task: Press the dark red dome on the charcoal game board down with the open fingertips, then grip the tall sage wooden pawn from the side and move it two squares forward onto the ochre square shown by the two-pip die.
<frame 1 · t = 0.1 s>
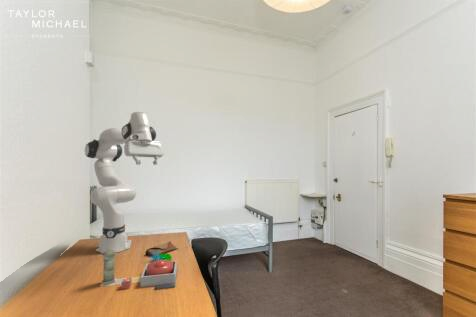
hand: (147, 164, 115), 52 cm above the table, tool tilted 20°, fingers open, 8 cm apart
sunglasses case: (162, 252, 132), on the table
dome: (160, 267, 100), point 5 cm above the table, slide at 0.0 cm
stick construction toy: (159, 262, 118), on the table
pawn: (108, 282, 95), point 1 cm above the table, touching game board
game board: (139, 281, 98), on the table
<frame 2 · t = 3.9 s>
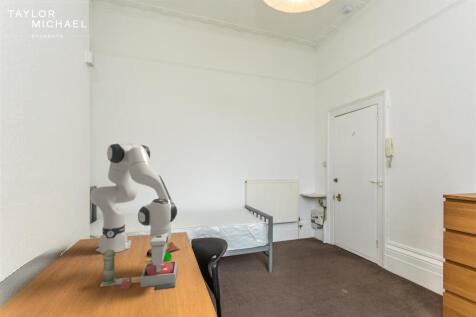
hand: (160, 266, 100), 6 cm above the table, tool pointing down, fingers open, 8 cm apart
sunglasses case: (164, 253, 131), on the table
dome: (160, 268, 100), point 5 cm above the table, slide at 0.8 cm, touching gripper
stick construction toy: (159, 261, 119), on the table
everything else where it was.
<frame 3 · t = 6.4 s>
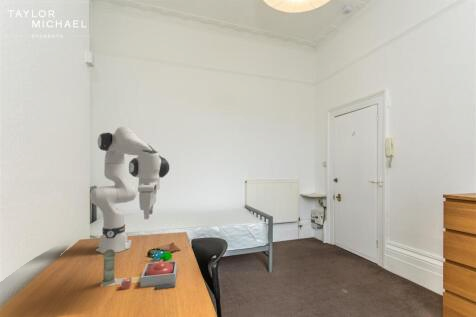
hand: (148, 216, 100), 28 cm above the table, tool pointing down, fingers open, 8 cm apart
dome: (160, 269, 100), point 4 cm above the table, slide at 1.0 cm
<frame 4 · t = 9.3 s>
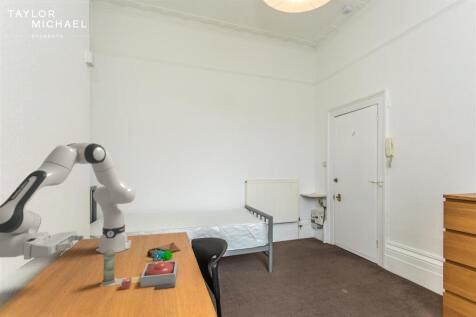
hand: (78, 241, 93), 19 cm above the table, tool horizontal, fingers open, 8 cm apart
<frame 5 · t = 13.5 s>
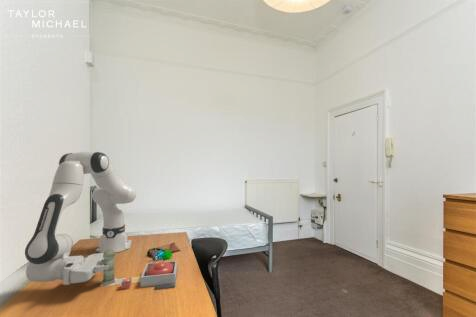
hand: (111, 264, 96), 9 cm above the table, tool horizontal, fingers closed on pawn, 4 cm apart
pawn: (108, 282, 95), point 1 cm above the table, touching game board, gripper
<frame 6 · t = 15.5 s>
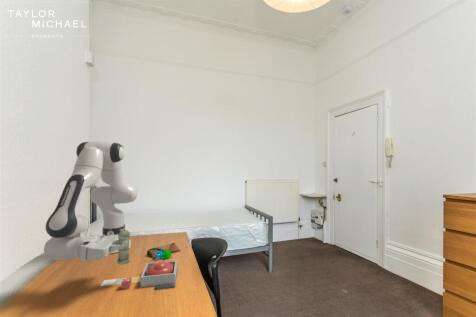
hand: (126, 244, 97), 17 cm above the table, tool horizontal, fingers closed on pawn, 4 cm apart
pawn: (123, 262, 96), point 9 cm above the table, touching gripper
when the fingers open (10 cm above the table, at t = 17.7 s): pawn stays where it is, resting on game board.
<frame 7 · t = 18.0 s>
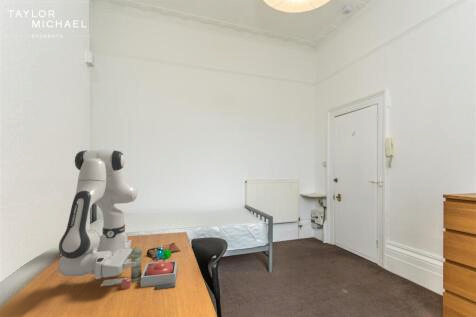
hand: (138, 259, 98), 10 cm above the table, tool horizontal, fingers open, 7 cm apart
sunglasses case: (164, 254, 131), on the table, touching stick construction toy
stick construction toy: (160, 259, 122), on the table, touching sunglasses case
pawn: (136, 279, 97), point 1 cm above the table, touching game board
everything else where it was.
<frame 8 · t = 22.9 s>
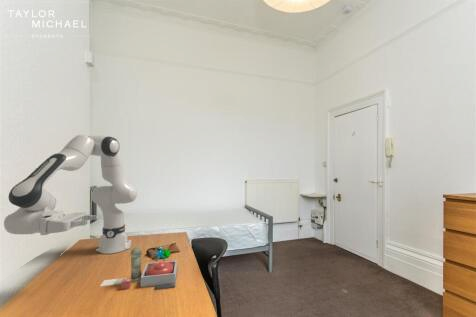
hand: (91, 219, 95), 28 cm above the table, tool horizontal, fingers open, 8 cm apart
sunglasses case: (164, 254, 130), on the table
stick construction toy: (160, 259, 123), on the table
everything else where it was.
at the end: pawn 0.0 cm from the target spot, point 1.2 cm above the table; pawn tilted 1°; dome slide at 1.0 cm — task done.
